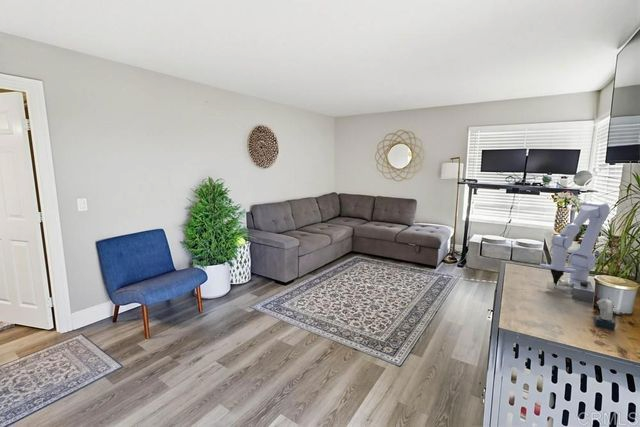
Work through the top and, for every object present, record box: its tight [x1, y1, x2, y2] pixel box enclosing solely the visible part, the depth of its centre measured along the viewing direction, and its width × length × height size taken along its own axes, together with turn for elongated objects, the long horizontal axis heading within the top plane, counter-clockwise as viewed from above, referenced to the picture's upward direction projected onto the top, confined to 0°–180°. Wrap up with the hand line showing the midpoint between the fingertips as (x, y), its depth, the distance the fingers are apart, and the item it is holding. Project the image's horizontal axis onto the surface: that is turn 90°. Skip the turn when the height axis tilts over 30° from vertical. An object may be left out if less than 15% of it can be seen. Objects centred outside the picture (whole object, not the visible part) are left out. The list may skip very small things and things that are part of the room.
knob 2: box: [557, 279, 572, 287], centre depth 156 cm, size 12×4×4 cm, turn 56°
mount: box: [569, 278, 596, 304], centre depth 151 cm, size 15×8×7 cm, turn 146°
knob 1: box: [545, 281, 573, 293], centre depth 153 cm, size 12×4×4 cm, turn 56°
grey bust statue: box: [593, 298, 616, 332], centre depth 123 cm, size 6×8×11 cm
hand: (555, 284), depth 160 cm, fingers closed
